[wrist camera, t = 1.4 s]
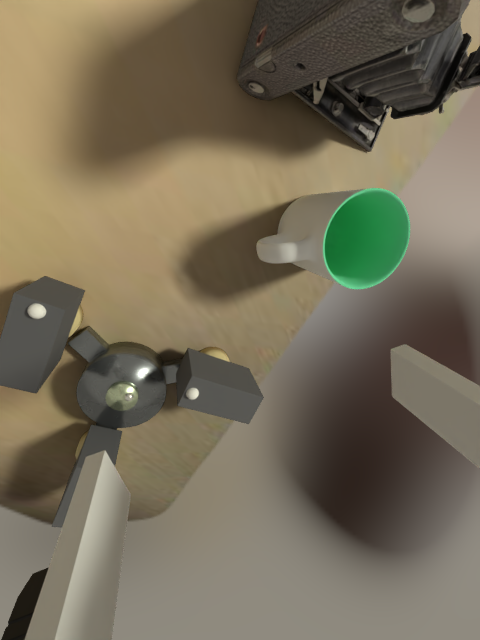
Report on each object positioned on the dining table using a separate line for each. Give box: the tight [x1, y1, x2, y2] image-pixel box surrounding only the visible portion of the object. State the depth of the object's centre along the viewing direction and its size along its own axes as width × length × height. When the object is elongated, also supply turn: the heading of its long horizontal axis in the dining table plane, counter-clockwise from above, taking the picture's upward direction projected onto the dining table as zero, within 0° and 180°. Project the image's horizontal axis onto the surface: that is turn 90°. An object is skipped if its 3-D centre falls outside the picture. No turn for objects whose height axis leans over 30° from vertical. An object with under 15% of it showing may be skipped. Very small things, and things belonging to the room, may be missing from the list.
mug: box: [256, 188, 410, 289], centre depth 28 cm, size 12×8×10 cm
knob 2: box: [176, 347, 264, 424], centre depth 32 cm, size 4×8×9 cm, turn 63°
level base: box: [68, 326, 183, 430], centre depth 32 cm, size 14×12×5 cm
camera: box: [237, 0, 480, 152], centre depth 21 cm, size 11×17×20 cm, turn 68°
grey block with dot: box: [0, 276, 85, 393], centre depth 26 cm, size 4×8×9 cm, turn 153°
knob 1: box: [52, 425, 122, 527], centre depth 33 cm, size 4×8×9 cm, turn 153°
